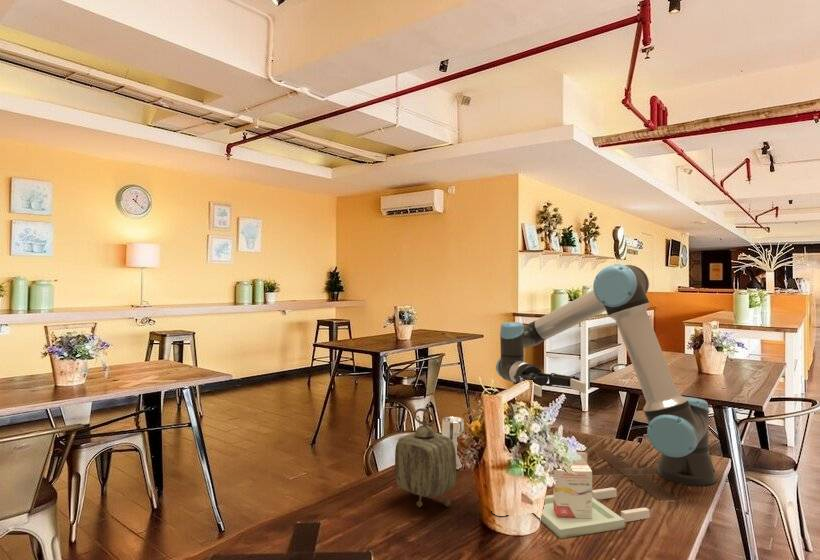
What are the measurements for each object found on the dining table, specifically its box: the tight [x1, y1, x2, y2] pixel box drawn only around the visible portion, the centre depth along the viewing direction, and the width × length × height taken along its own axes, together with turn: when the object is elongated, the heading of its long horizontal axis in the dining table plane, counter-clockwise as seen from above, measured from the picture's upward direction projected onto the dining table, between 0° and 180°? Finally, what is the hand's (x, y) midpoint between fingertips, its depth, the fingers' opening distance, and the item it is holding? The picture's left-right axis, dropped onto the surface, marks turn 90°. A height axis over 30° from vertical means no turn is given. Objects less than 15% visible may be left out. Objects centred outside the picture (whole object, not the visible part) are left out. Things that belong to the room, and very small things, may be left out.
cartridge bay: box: [592, 486, 651, 523], centre depth 133 cm, size 7×14×2 cm, turn 15°
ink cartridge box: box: [553, 451, 593, 519], centre depth 128 cm, size 9×5×15 cm, turn 84°
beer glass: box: [441, 416, 465, 469], centre depth 161 cm, size 7×7×15 cm
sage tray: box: [541, 494, 626, 539], centre depth 128 cm, size 17×17×2 cm
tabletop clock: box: [394, 407, 457, 508], centre depth 136 cm, size 14×9×25 cm, turn 48°
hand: (562, 389), depth 142 cm, fingers open, 13 cm apart
